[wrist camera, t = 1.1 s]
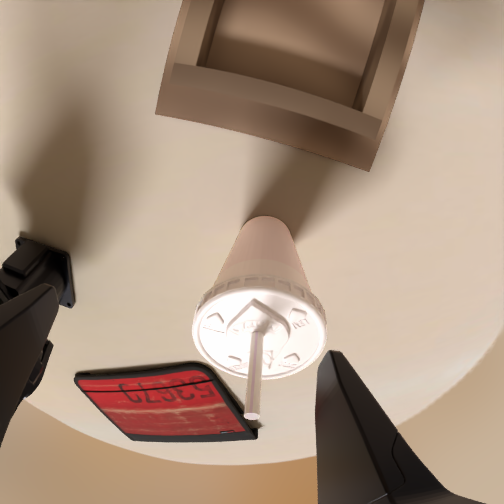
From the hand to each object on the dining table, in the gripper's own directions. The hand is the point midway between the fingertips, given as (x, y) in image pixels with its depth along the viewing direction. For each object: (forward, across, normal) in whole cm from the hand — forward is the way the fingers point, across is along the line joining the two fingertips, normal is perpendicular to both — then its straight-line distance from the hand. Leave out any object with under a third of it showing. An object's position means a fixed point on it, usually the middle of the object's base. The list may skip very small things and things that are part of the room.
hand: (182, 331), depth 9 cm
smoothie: (+14, -3, +4) cm, 14 cm away
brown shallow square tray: (+13, -2, -12) cm, 18 cm away
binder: (+14, +4, +30) cm, 34 cm away
